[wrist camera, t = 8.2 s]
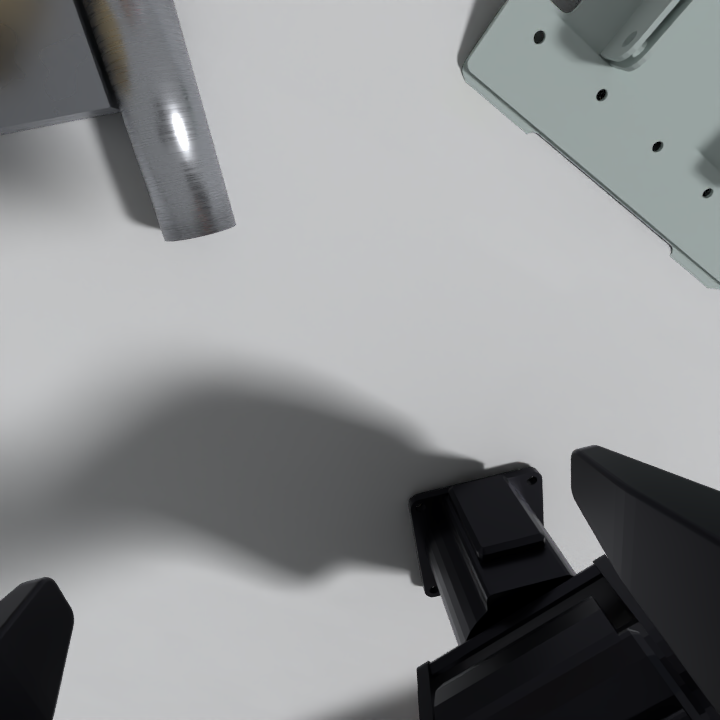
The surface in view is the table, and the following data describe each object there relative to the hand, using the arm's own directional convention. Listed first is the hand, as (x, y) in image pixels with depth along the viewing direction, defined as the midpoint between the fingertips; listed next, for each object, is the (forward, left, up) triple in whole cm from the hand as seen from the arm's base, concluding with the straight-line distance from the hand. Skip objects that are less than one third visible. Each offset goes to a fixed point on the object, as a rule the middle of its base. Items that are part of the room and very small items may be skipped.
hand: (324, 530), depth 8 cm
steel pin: (+8, +2, -12) cm, 14 cm away
